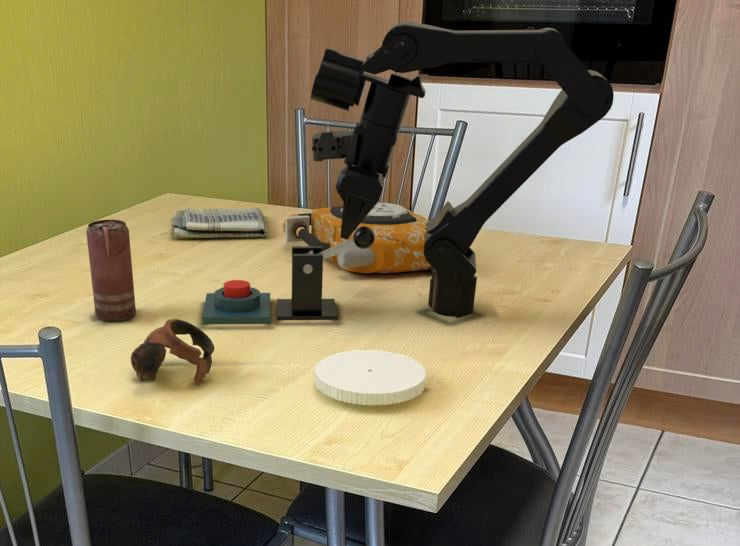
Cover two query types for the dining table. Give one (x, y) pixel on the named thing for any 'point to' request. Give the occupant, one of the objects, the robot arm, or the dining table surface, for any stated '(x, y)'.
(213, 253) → the dining table surface
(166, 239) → the dining table surface
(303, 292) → the lever bracket
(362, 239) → the lever handle
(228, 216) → the dish towel
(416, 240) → the device
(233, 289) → the red button
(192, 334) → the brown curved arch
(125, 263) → the can
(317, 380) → the plastic lid
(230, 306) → the button housing
